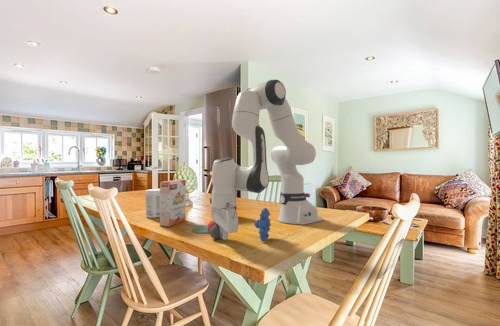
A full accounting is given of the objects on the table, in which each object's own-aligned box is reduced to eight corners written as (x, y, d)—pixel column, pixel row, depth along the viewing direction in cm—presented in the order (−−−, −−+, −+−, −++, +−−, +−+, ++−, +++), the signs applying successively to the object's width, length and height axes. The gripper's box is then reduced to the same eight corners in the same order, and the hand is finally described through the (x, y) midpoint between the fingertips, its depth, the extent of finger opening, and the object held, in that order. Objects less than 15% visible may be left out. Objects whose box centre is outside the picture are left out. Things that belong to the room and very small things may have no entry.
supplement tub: (164, 213, 143) (164, 188, 143) (164, 217, 134) (164, 190, 134) (146, 215, 140) (145, 189, 140) (145, 219, 131) (145, 191, 131)
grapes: (256, 234, 103) (256, 205, 103) (273, 235, 101) (272, 206, 101) (250, 244, 91) (250, 211, 91) (269, 245, 90) (268, 212, 90)
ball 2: (227, 230, 96) (225, 238, 99) (220, 219, 99) (219, 228, 102) (214, 235, 93) (213, 244, 96) (207, 224, 96) (207, 233, 99)
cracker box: (170, 227, 114) (170, 181, 114) (159, 226, 116) (158, 181, 116) (186, 220, 128) (186, 179, 127) (176, 219, 129) (175, 179, 129)
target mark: (219, 223, 121) (219, 223, 121) (229, 231, 108) (229, 230, 108) (190, 226, 115) (190, 226, 115) (197, 235, 102) (197, 234, 102)
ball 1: (220, 235, 106) (217, 224, 110) (223, 227, 103) (220, 216, 106) (207, 236, 104) (205, 225, 107) (210, 228, 100) (207, 217, 104)
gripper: (242, 205, 84) (242, 245, 85) (223, 197, 103) (223, 230, 103) (225, 206, 82) (225, 248, 82) (208, 198, 100) (208, 232, 101)
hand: (224, 238), depth 93 cm, fingers closed
